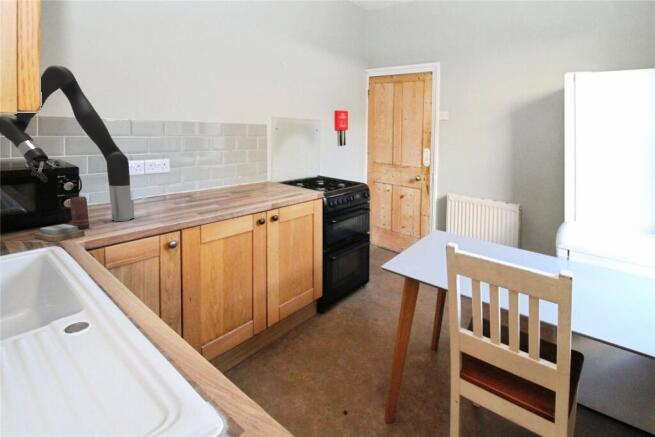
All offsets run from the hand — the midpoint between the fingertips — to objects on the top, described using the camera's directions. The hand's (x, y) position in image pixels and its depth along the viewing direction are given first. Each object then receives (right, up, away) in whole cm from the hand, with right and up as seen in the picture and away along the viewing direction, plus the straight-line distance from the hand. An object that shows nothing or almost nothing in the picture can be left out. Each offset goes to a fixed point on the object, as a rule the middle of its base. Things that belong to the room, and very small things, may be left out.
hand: (55, 180), depth 165 cm
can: (+11, -21, +1) cm, 24 cm away
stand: (+13, -24, -15) cm, 31 cm away
